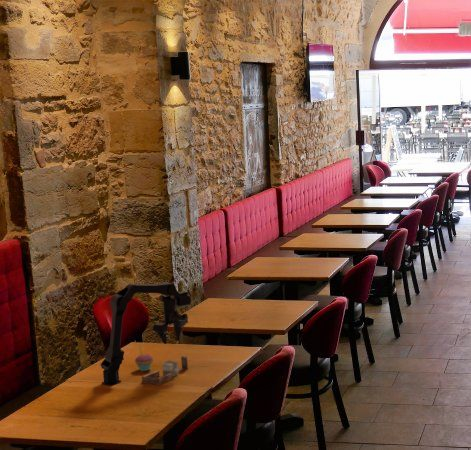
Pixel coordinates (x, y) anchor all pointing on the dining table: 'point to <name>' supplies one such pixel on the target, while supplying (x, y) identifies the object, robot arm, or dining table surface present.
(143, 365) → the cupcake
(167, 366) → the block with cord
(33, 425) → the dining table surface
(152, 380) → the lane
